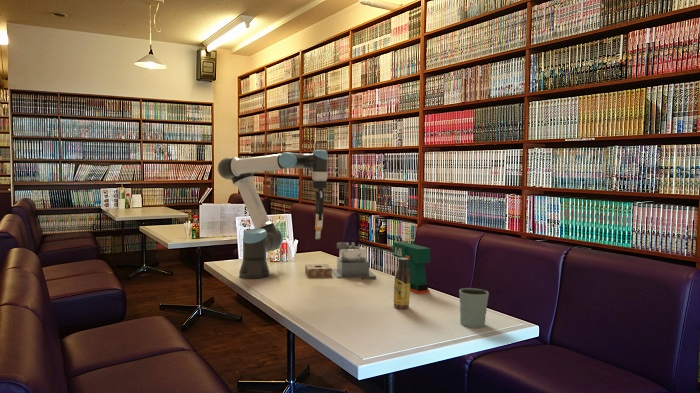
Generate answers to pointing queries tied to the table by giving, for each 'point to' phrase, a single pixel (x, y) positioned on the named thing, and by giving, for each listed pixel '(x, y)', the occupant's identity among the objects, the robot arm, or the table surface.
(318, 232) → the orange rounded rod
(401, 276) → the sauce bottle
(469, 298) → the grey cup
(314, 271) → the wooden hole block
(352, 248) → the chuck
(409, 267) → the power tool
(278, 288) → the table surface
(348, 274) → the stand
